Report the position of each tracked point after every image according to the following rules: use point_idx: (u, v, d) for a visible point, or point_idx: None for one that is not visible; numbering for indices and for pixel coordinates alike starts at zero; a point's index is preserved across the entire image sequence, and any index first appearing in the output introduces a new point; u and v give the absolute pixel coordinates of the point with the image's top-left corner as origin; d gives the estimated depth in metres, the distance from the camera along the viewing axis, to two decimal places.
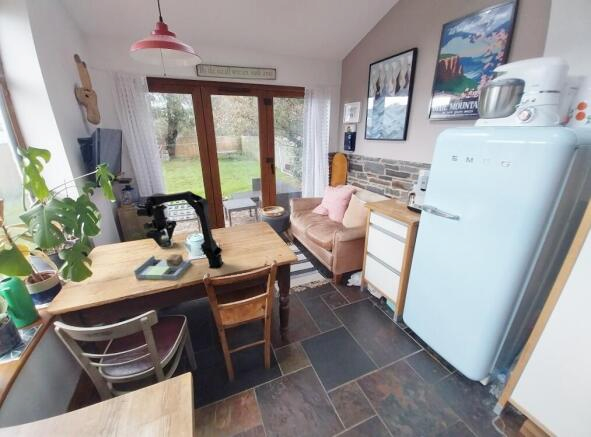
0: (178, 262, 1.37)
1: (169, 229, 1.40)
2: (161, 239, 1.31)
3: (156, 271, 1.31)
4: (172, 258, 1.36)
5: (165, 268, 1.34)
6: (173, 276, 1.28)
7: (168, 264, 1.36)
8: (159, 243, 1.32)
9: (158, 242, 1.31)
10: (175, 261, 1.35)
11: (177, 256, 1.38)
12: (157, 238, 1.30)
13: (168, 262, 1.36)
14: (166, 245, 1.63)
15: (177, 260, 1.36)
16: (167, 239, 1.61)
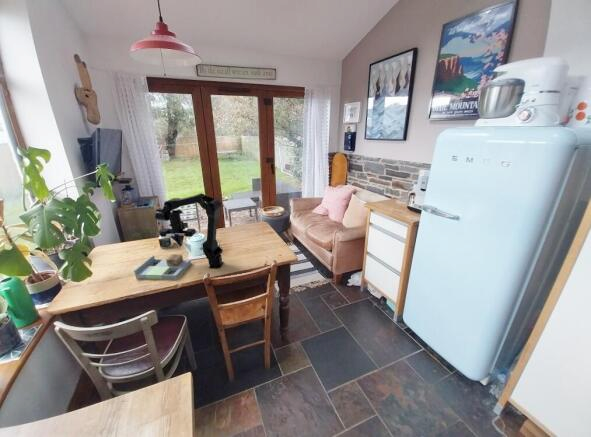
0: (178, 262, 1.37)
1: None
2: (176, 240, 1.38)
3: (156, 271, 1.31)
4: (172, 258, 1.36)
5: (165, 268, 1.34)
6: (173, 276, 1.28)
7: (168, 264, 1.36)
8: None
9: None
10: (175, 261, 1.35)
11: (177, 256, 1.38)
12: None
13: (168, 262, 1.36)
14: (166, 245, 1.63)
15: (177, 260, 1.36)
16: (167, 239, 1.61)
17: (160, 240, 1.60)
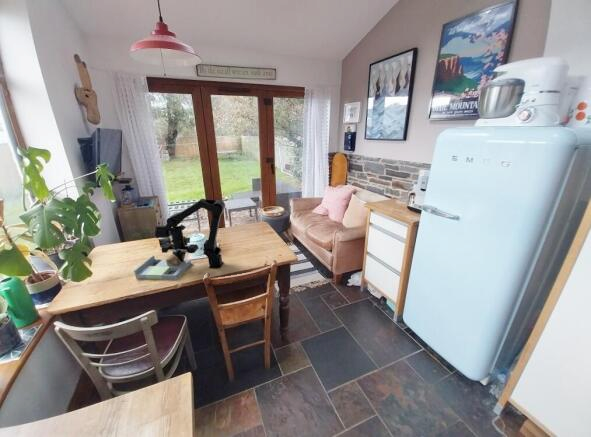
0: (178, 262, 1.37)
1: None
2: (178, 256, 1.35)
3: (156, 271, 1.31)
4: (172, 258, 1.36)
5: (165, 268, 1.34)
6: (173, 276, 1.28)
7: (168, 264, 1.36)
8: None
9: None
10: (175, 261, 1.35)
11: None
12: None
13: (168, 262, 1.36)
14: None
15: (177, 260, 1.36)
16: (167, 239, 1.61)
17: (160, 240, 1.60)
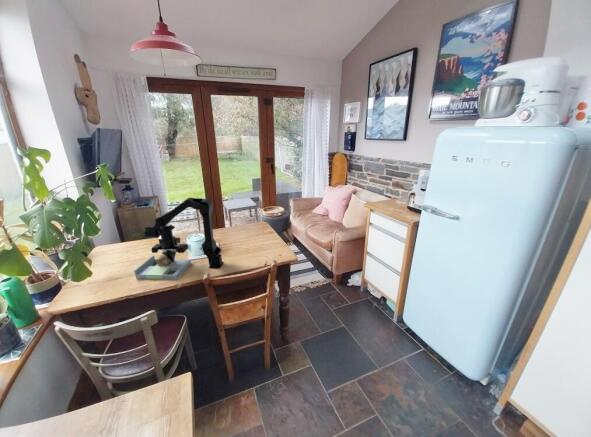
0: (168, 262, 1.37)
1: None
2: (168, 256, 1.35)
3: (156, 271, 1.31)
4: (162, 258, 1.37)
5: (165, 268, 1.34)
6: (173, 276, 1.28)
7: (158, 264, 1.37)
8: None
9: None
10: (165, 261, 1.35)
11: None
12: None
13: (158, 262, 1.36)
14: None
15: (167, 260, 1.36)
16: None
17: (160, 240, 1.60)
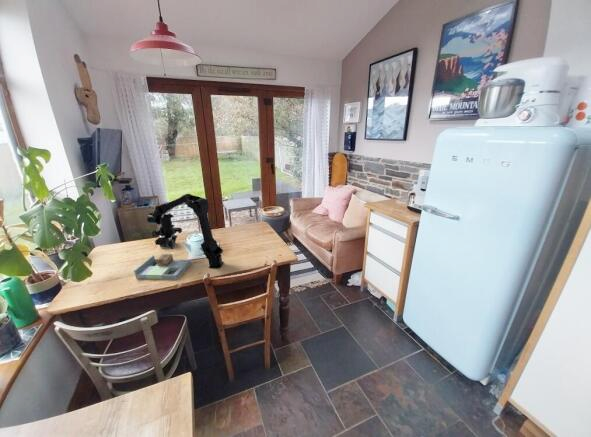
0: (168, 262, 1.37)
1: None
2: (173, 242, 1.43)
3: (156, 271, 1.31)
4: (162, 258, 1.37)
5: (165, 268, 1.34)
6: (173, 276, 1.28)
7: (158, 264, 1.37)
8: (171, 246, 1.43)
9: (170, 245, 1.43)
10: (165, 261, 1.35)
11: (167, 256, 1.38)
12: None
13: (158, 262, 1.36)
14: (166, 245, 1.63)
15: (167, 260, 1.36)
16: None
17: None
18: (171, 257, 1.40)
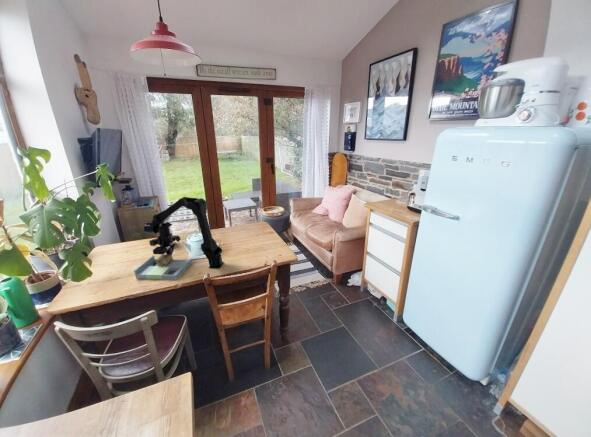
0: (168, 262, 1.37)
1: None
2: (171, 251, 1.41)
3: (156, 271, 1.31)
4: (161, 258, 1.37)
5: (165, 268, 1.34)
6: (173, 276, 1.28)
7: (158, 264, 1.36)
8: None
9: None
10: (165, 261, 1.35)
11: (167, 256, 1.38)
12: None
13: (158, 262, 1.36)
14: None
15: (167, 260, 1.36)
16: None
17: None
18: (171, 257, 1.40)
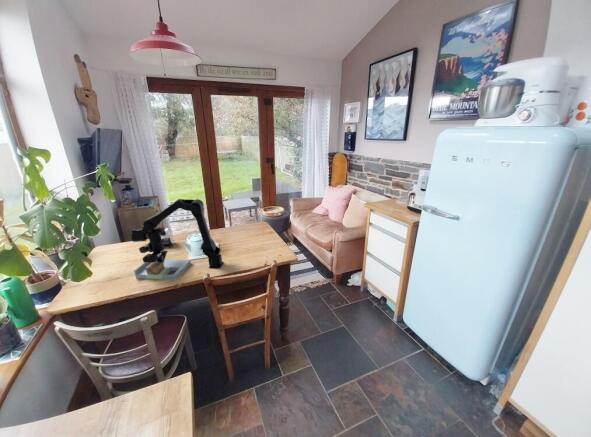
0: (158, 270, 1.29)
1: (161, 255, 1.34)
2: (163, 258, 1.33)
3: None
4: (152, 266, 1.29)
5: (165, 268, 1.34)
6: (173, 276, 1.28)
7: (148, 272, 1.29)
8: None
9: (160, 261, 1.33)
10: (155, 269, 1.27)
11: (158, 264, 1.30)
12: (159, 257, 1.32)
13: (148, 270, 1.28)
14: None
15: (157, 268, 1.28)
16: (167, 239, 1.61)
17: None
18: (162, 265, 1.32)
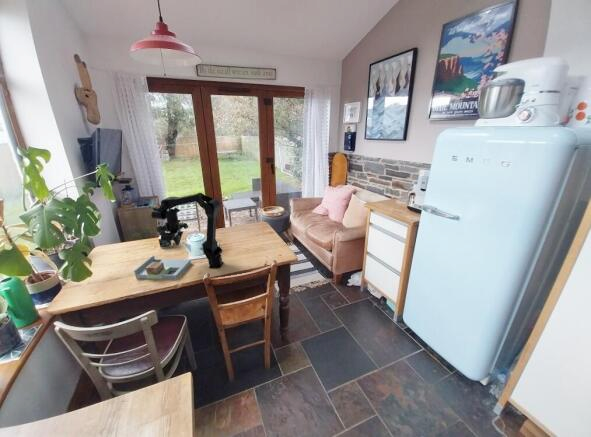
0: (158, 270, 1.29)
1: None
2: (179, 238, 1.37)
3: None
4: (152, 266, 1.29)
5: (165, 268, 1.34)
6: (173, 276, 1.28)
7: (148, 272, 1.29)
8: (177, 242, 1.38)
9: (176, 241, 1.38)
10: (155, 269, 1.27)
11: (158, 264, 1.30)
12: (175, 237, 1.36)
13: (148, 270, 1.28)
14: (166, 245, 1.63)
15: (157, 268, 1.28)
16: None
17: (160, 240, 1.60)
18: (162, 265, 1.32)
